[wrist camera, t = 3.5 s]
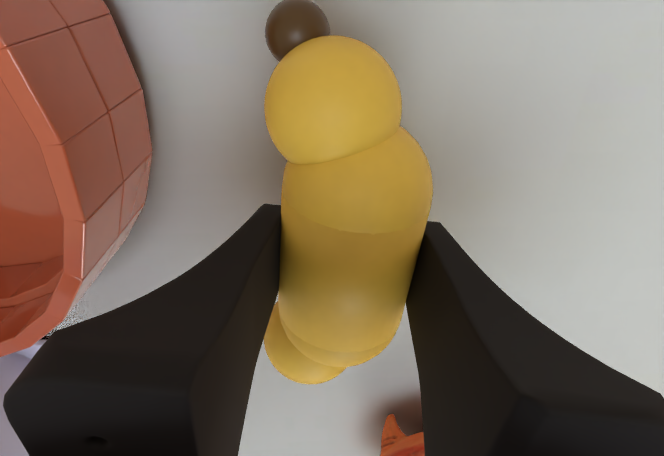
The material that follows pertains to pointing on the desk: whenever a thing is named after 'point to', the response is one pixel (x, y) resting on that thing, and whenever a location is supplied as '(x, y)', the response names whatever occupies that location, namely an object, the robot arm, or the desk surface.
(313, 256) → the banana
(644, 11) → the desk surface
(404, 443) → the pot
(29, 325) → the bowl
